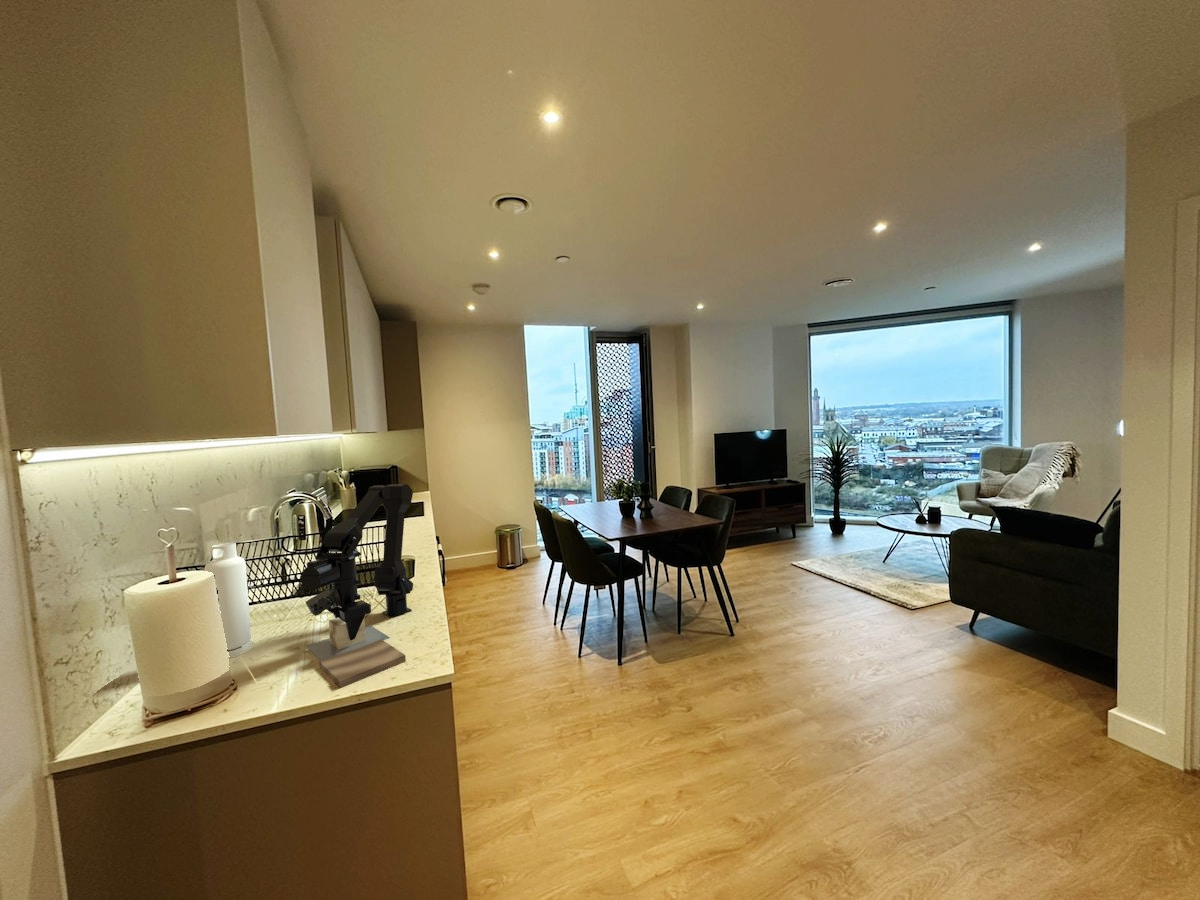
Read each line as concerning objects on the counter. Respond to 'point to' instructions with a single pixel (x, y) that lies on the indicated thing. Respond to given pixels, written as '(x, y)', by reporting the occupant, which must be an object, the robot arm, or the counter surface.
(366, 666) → the walnut pad
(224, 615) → the bottle
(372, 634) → the tile
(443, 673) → the counter surface
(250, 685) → the counter surface
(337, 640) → the oak block
